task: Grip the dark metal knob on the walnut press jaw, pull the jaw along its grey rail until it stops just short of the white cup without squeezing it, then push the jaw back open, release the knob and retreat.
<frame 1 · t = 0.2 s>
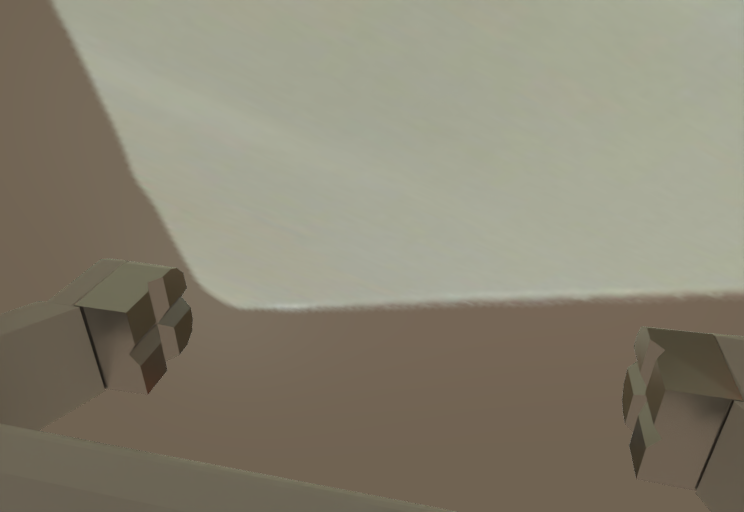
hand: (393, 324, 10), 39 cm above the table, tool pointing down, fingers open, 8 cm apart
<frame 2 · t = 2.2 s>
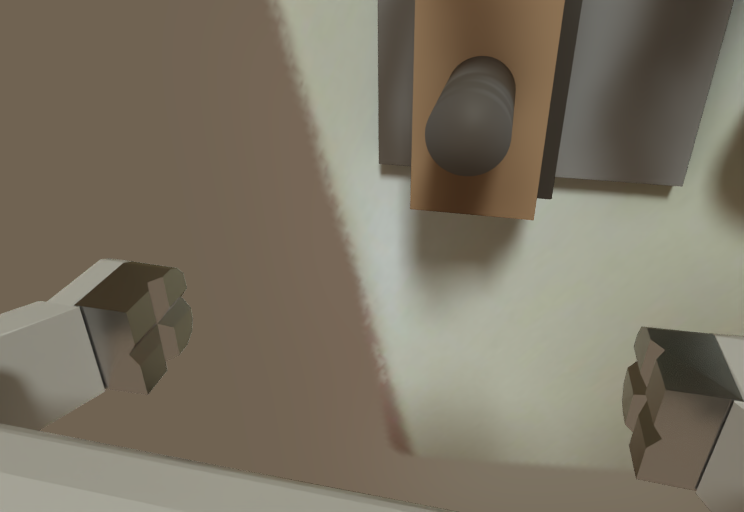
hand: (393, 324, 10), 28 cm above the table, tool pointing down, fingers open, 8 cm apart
press jaw: (491, 86, 26), point 9 cm above the table, slide at 0.0 cm
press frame: (689, 54, 32), on the table
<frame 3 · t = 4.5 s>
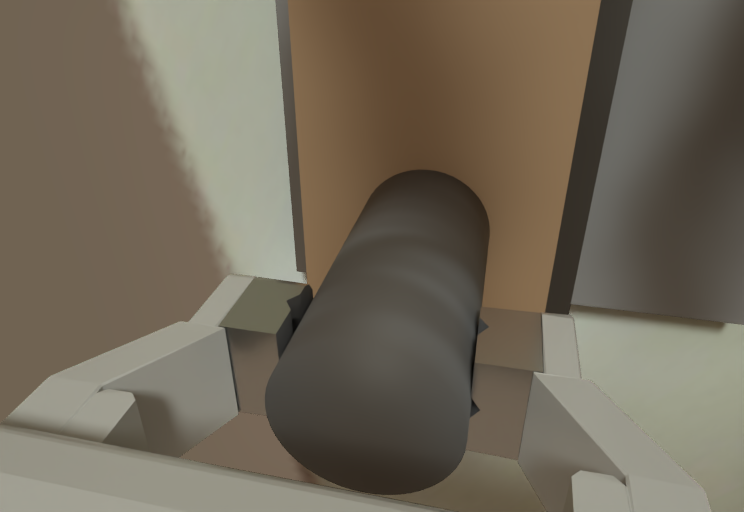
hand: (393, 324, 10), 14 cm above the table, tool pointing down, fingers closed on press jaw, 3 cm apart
press jaw: (446, 214, 14), point 9 cm above the table, slide at 0.0 cm, touching gripper
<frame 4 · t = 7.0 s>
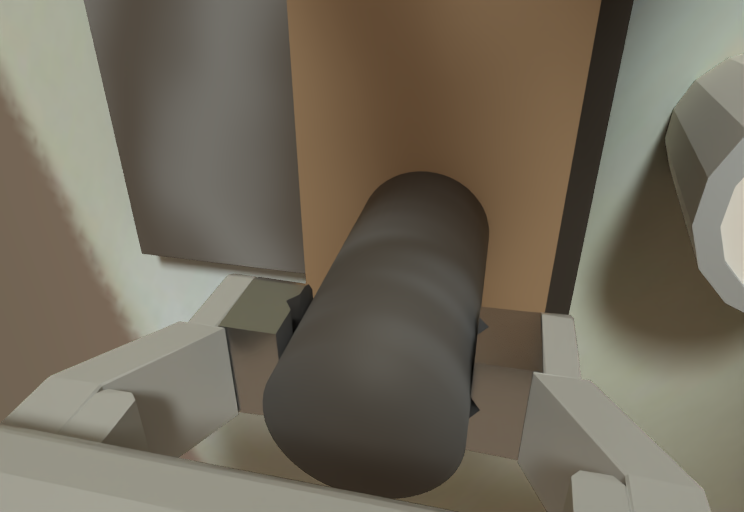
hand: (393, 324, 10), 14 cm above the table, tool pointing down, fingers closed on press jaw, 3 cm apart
press jaw: (445, 216, 14), point 9 cm above the table, slide at 7.5 cm, touching gripper
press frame: (544, 118, 21), on the table
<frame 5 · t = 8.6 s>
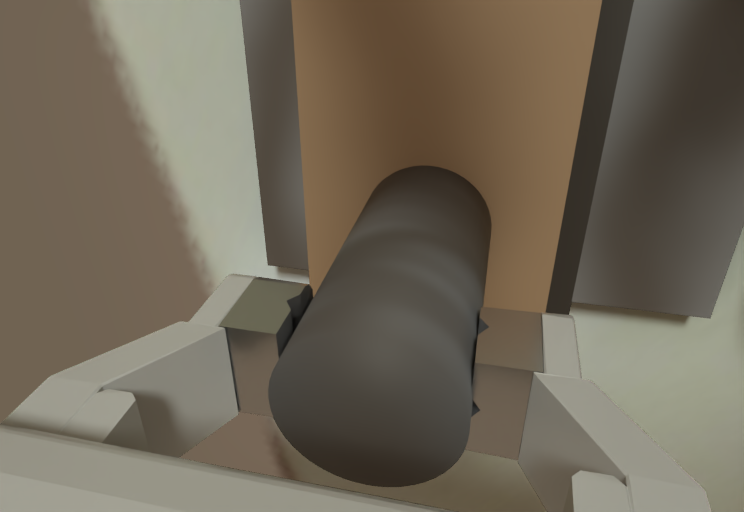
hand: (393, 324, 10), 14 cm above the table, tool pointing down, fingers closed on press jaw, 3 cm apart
press jaw: (447, 211, 14), point 9 cm above the table, slide at 1.4 cm, touching gripper
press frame: (725, 126, 20), on the table
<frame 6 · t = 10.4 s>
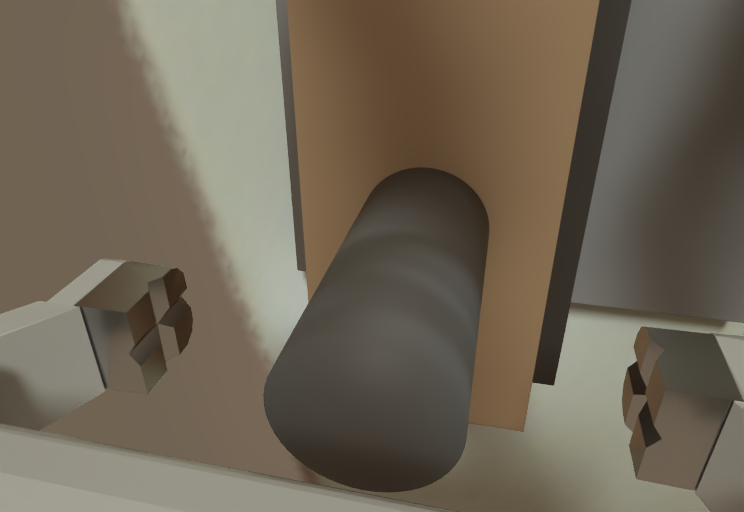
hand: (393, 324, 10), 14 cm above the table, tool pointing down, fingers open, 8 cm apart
press jaw: (445, 212, 14), point 9 cm above the table, slide at 0.0 cm
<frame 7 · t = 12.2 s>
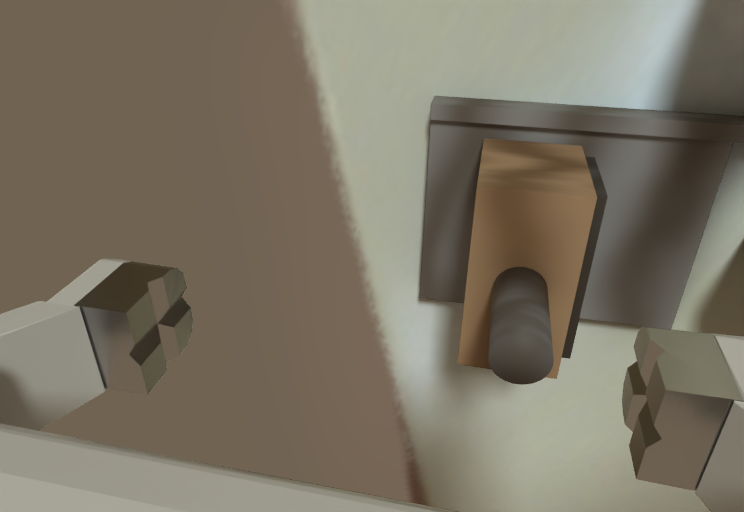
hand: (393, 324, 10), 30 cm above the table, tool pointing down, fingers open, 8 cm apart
press jaw: (526, 282, 33), point 9 cm above the table, slide at 0.0 cm
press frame: (677, 231, 39), on the table
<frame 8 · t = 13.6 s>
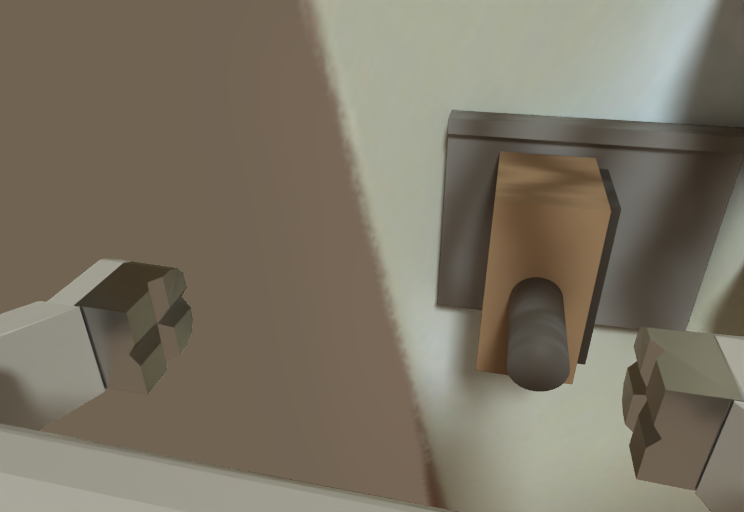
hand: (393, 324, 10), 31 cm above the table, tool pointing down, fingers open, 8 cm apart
press jaw: (542, 291, 35), point 9 cm above the table, slide at 0.0 cm
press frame: (690, 239, 40), on the table
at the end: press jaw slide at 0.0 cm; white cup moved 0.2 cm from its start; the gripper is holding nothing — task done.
